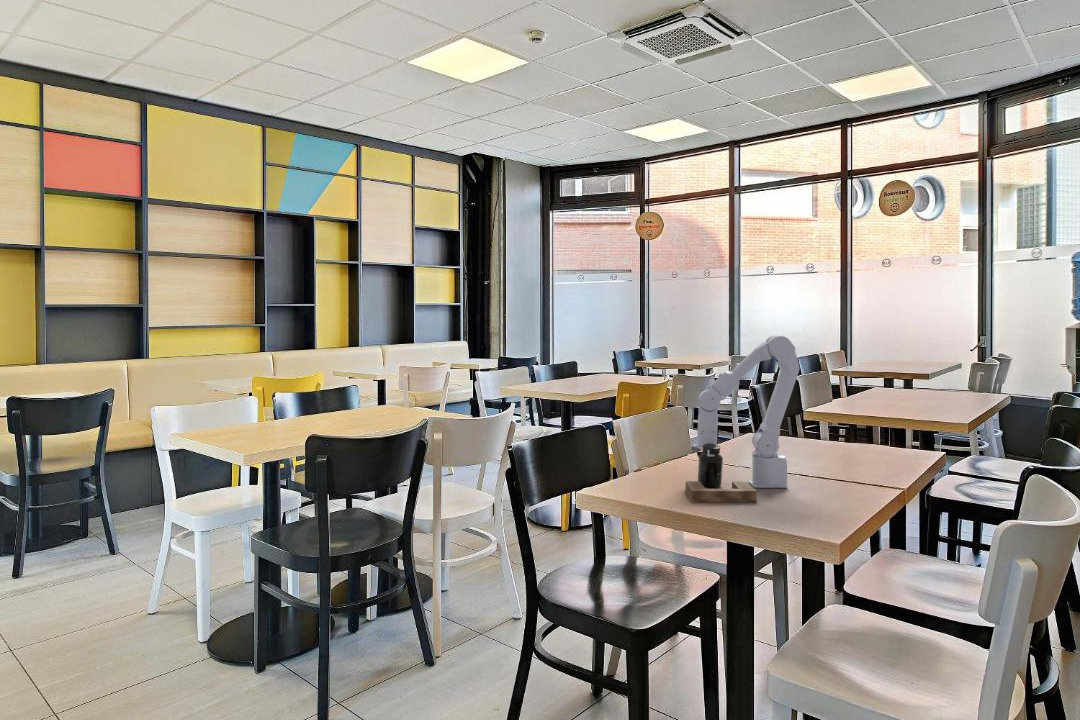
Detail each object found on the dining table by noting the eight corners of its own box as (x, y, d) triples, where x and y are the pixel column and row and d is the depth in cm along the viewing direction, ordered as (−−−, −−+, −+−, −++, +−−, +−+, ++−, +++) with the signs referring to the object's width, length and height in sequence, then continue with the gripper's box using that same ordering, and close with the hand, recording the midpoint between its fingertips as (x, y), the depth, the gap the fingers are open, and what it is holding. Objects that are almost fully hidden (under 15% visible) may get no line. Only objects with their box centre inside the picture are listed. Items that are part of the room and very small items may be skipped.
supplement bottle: (723, 489, 201) (725, 450, 198) (699, 489, 201) (701, 449, 199) (719, 480, 208) (721, 442, 205) (695, 480, 208) (697, 441, 206)
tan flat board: (746, 492, 197) (746, 481, 197) (756, 502, 186) (756, 491, 185) (685, 491, 198) (685, 481, 198) (692, 501, 187) (692, 490, 186)
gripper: (690, 426, 215) (688, 470, 215) (697, 434, 200) (695, 480, 201) (713, 427, 214) (711, 471, 215) (722, 435, 200) (720, 481, 201)
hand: (705, 475), depth 208 cm, fingers closed, pressing on supplement bottle
